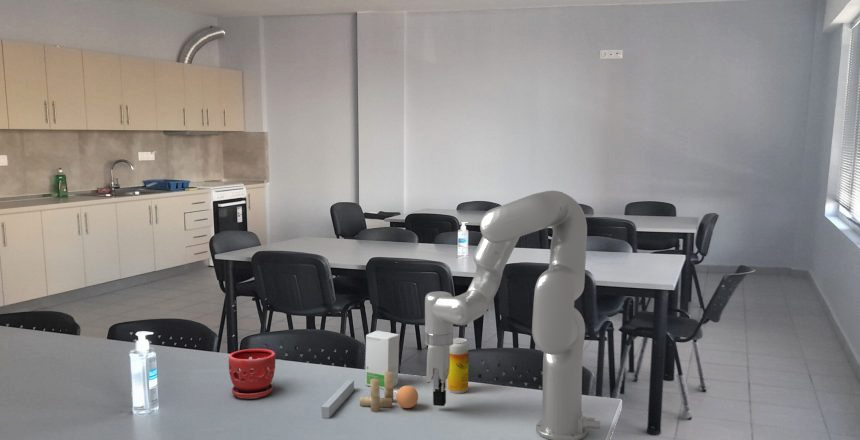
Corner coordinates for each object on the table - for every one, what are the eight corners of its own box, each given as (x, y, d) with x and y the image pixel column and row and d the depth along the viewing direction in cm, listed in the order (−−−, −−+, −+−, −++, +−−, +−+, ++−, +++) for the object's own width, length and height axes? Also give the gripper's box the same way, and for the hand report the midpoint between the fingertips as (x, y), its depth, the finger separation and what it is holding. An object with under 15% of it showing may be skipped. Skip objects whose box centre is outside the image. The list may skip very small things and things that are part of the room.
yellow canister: (466, 394, 200) (466, 343, 198) (445, 393, 201) (445, 342, 199) (469, 387, 205) (469, 338, 204) (449, 386, 207) (449, 337, 205)
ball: (395, 388, 193) (405, 407, 193) (389, 395, 187) (400, 415, 187) (413, 379, 192) (424, 398, 192) (408, 386, 186) (419, 406, 186)
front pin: (391, 396, 191) (361, 395, 193) (390, 400, 189) (359, 398, 190) (392, 405, 192) (362, 403, 193) (390, 408, 189) (359, 407, 191)
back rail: (354, 390, 204) (354, 380, 204) (328, 418, 183) (328, 407, 182) (347, 389, 204) (347, 379, 204) (321, 417, 183) (321, 406, 183)
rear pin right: (394, 400, 195) (393, 371, 194) (392, 403, 193) (391, 373, 192) (385, 400, 196) (385, 370, 195) (383, 403, 193) (383, 373, 192)
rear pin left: (380, 409, 189) (380, 378, 188) (378, 412, 186) (378, 381, 186) (372, 408, 189) (371, 378, 188) (369, 411, 187) (369, 381, 186)
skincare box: (364, 386, 208) (364, 334, 206) (376, 379, 213) (375, 329, 212) (388, 390, 204) (388, 338, 202) (400, 383, 209) (399, 333, 208)
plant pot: (277, 398, 197) (276, 357, 196) (229, 403, 194) (228, 361, 192) (274, 384, 210) (273, 345, 209) (229, 388, 206) (228, 349, 205)
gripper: (430, 330, 194) (431, 394, 196) (419, 345, 179) (420, 414, 181) (457, 331, 193) (457, 396, 194) (448, 346, 178) (448, 416, 180)
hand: (439, 404), depth 188 cm, fingers closed
